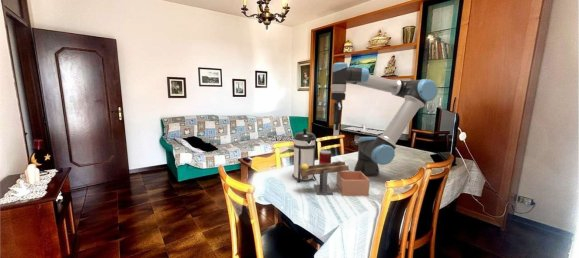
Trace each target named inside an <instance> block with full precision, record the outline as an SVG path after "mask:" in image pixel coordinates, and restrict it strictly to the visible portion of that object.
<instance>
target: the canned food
mask: <svg viewBox="0 0 579 258" xmlns="http://www.w3.org/2000/svg"><path fill="white" fill-rule="evenodd" d="M318 156H319V159H318V162H319V163H318V165H320V164H329V163H332V151H331V150H325V149H324V150H319V155H318Z"/></svg>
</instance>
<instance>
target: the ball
mask: <svg viewBox="0 0 579 258" xmlns="http://www.w3.org/2000/svg"><path fill="white" fill-rule="evenodd" d="M308 169H309V166H308V165H307V164H302V165H301V170H302V171H305V170H308Z"/></svg>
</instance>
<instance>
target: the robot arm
mask: <svg viewBox="0 0 579 258" xmlns="http://www.w3.org/2000/svg"><path fill="white" fill-rule="evenodd" d="M331 72H332V73H331V80H332V81H331V86H330V88H331V93H330V94H331V95H330V97H331V98H330V99H331V100H332V101H334V102H333V105H332V106H333V118H332V119H333V121H332V122H333V134H332V136H333V137H339V134H340V125H341V123H342V121H341V119H342V112H343V111H342V110H343V103H342V101H345V100H346V91H347V84H350V85H351V84H352V85H356V86H360V87H361V86H362V87H365V88H369V89H372V90H377V91H382V92H385V93H386V92H387V93H390V94H391V95H393V96H396V97H400V98H402V99H404V100H403V103H401V106H400V107H399V109H398V110H397V112H396V113H395V115H394V116H393V118H392V119H391V121H390V122H389V123H388V125H387V126H386V128H385V129H384V131H383V133H382V134H381V135H378V136H361V137H358V138H359V139H358V142H357V143H358V150H357V161H356V163H355V166H354V168H353V169H354V171H361V172H362V173H363V174H364V175H365V176H366V177H376V176H378V175H380V167H379V165H383V166H384V165H388V164H390V163H391V162H392V161H393V160H394V159H395V157H396V154H395V153H396V152H395V150H396V148H397V146H396V145H397V144H396V143H397V142H398V140H399V139H400V137H401V136H402V134H403V132H405V130H406V128H407V127H408V126H409V124H410V122H411V121H412V119H413V118H414V116H416V114H417V112H418V111H419V110H420V109H421V108H424V107H425V106H426V104H427V102H430V101H434V99H436V97H437V95H438V90H439V89H438V86H437V84H436V82H435V81H433V80H432V79H429V78H428V79H426V78H423V79H414V80H413V79H412V80H411V79H410V80H401V79H396V80H393V79H389V78H385V77H382V76H378V75H374V74H373V75H372V74H370V71H369V68H367V67H349V66H348V63H347V62H335V63H333V65H332V71H331Z"/></svg>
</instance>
